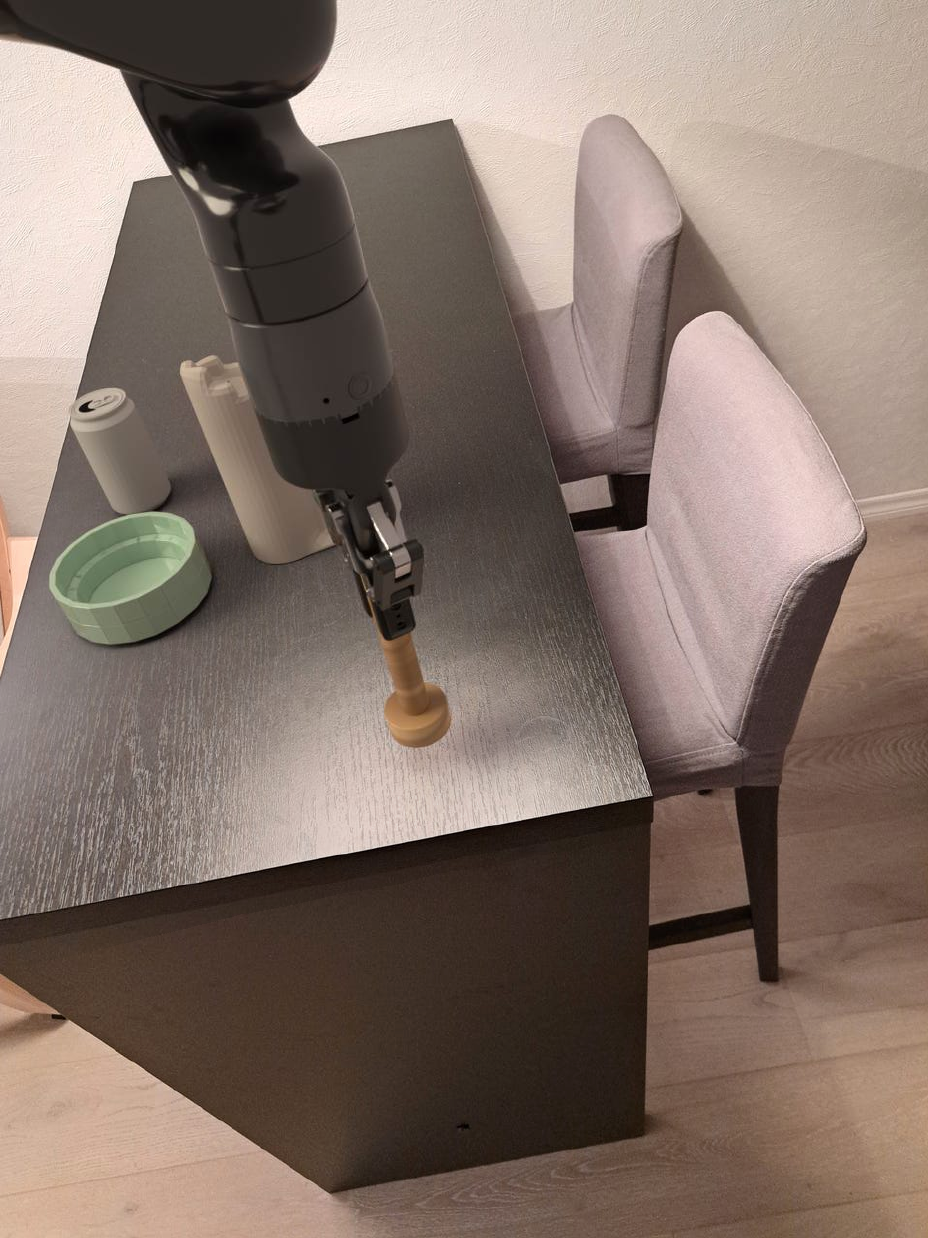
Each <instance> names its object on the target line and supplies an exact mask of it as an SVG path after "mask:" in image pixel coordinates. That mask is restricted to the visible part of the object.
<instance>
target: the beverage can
mask: <svg viewBox="0 0 928 1238" xmlns="http://www.w3.org/2000/svg"><path fill="white" fill-rule="evenodd" d="M68 414H69V416H70V422H69V423H70V424H69V425H70V428H71V430H72V431H73V433H74V435H75V437H76V439H77V441H78V444H79V445H80V448H81V449H82V451H83V453H84V455H85V457H86V460H87V461H88V463H89V465H90V467H91V469H92V471H93V473H94V475H95V477H96V479H97V481H98V482H99V485H100V487H101V488H102V490H103V492H104V494H105V496H106V498H107V500H108V503H109V504H110V506H111V508H112V510H113V511H115V512H116V513H118V514H121V515H125V516H127V515H130V514H137V513H145V512H154V510H156V509H158V508H159V507H161V506H162V505H163V504H164V503H165V502H166V501H167V498H168V497H169V495H170V494H171V491H172V485H171V483H170V480H169V478H168V475H167V473H166V472H165V469H164V466H163V465H162V462H161V460H160V458H159V456H158V454H157V452H156V449H155V447H154V444H153V442H152V440H151V438H150V435H149V433H148V431H147V429H146V427H145V424H144V422H143V419H142V418H141V415H140V413H139V410H138V409H137V406H136V404H135V402H134V401H133V400H132V399H131V398H129V397H128V396H127V394H126V391H124V390H123V389H122V388H119V387H118V388H117V387H106V388H101V389H96V390H93V391H91V392H88V393H86V394H84V395H82V396H80V397H78V398H77V399H76V400H75V401H73V403H71V405H70V406H69V408H68Z"/></svg>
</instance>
